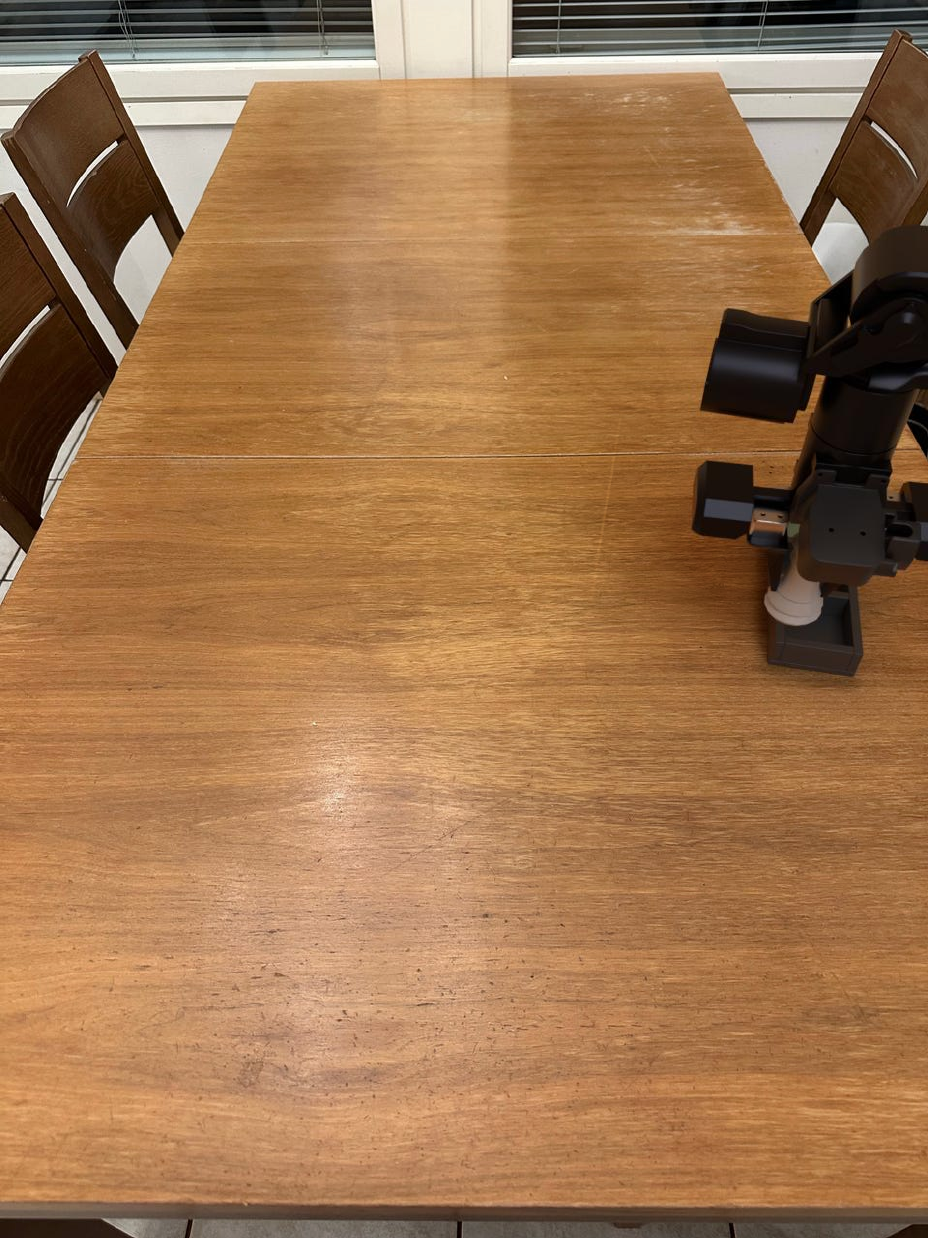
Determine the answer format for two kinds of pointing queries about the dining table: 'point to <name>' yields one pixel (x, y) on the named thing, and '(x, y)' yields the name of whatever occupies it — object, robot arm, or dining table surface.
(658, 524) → the dining table surface
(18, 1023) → the dining table surface
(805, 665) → the rack
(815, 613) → the rook chess piece
